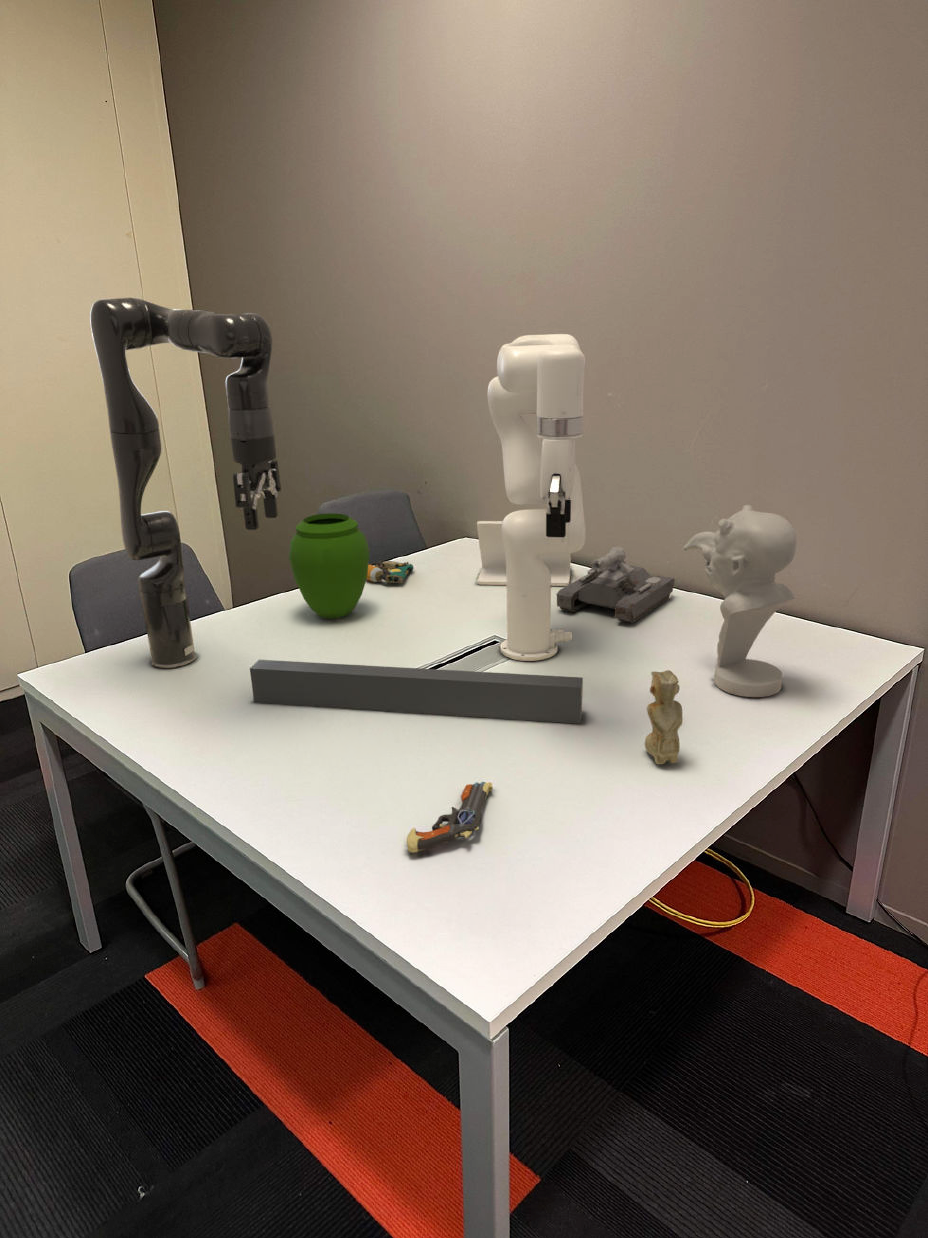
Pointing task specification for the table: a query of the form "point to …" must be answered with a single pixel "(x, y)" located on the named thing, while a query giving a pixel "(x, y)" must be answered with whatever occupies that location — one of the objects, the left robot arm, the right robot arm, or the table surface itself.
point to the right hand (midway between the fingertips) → (558, 529)
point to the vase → (329, 563)
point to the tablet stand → (496, 560)
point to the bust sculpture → (747, 593)
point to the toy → (616, 588)
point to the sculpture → (664, 718)
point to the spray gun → (389, 571)
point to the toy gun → (454, 820)
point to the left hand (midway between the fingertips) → (262, 523)
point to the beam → (419, 690)
